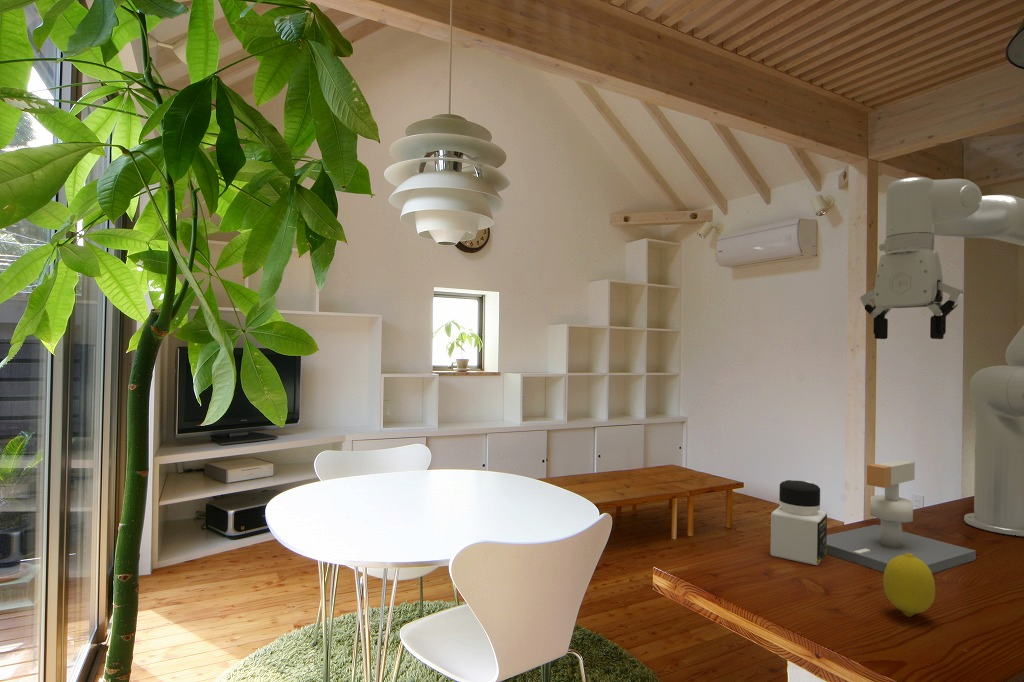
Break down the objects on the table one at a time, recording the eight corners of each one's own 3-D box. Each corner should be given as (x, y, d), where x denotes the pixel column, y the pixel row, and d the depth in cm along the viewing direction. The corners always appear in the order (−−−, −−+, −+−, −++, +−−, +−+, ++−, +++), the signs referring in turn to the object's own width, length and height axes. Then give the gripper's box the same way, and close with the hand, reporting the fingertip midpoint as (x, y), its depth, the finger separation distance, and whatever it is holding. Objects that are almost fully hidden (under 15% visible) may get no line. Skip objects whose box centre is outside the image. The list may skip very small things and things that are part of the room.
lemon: (874, 605, 79) (875, 544, 80) (919, 608, 79) (920, 547, 79) (896, 624, 74) (897, 559, 74) (944, 627, 73) (945, 562, 73)
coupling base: (876, 532, 112) (876, 500, 112) (975, 559, 98) (976, 523, 98) (809, 547, 102) (809, 512, 102) (909, 580, 88) (909, 539, 89)
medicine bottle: (818, 566, 94) (819, 489, 94) (769, 556, 98) (771, 482, 98) (826, 554, 99) (827, 481, 99) (780, 545, 104) (781, 475, 104)
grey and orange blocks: (894, 527, 95) (895, 469, 95) (855, 517, 100) (856, 463, 100) (925, 516, 101) (926, 463, 101) (887, 508, 106) (888, 457, 106)
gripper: (851, 250, 117) (849, 338, 117) (951, 237, 102) (950, 338, 102) (873, 254, 121) (872, 339, 120) (973, 242, 106) (972, 339, 105)
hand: (907, 338), depth 111 cm, fingers open, 9 cm apart
